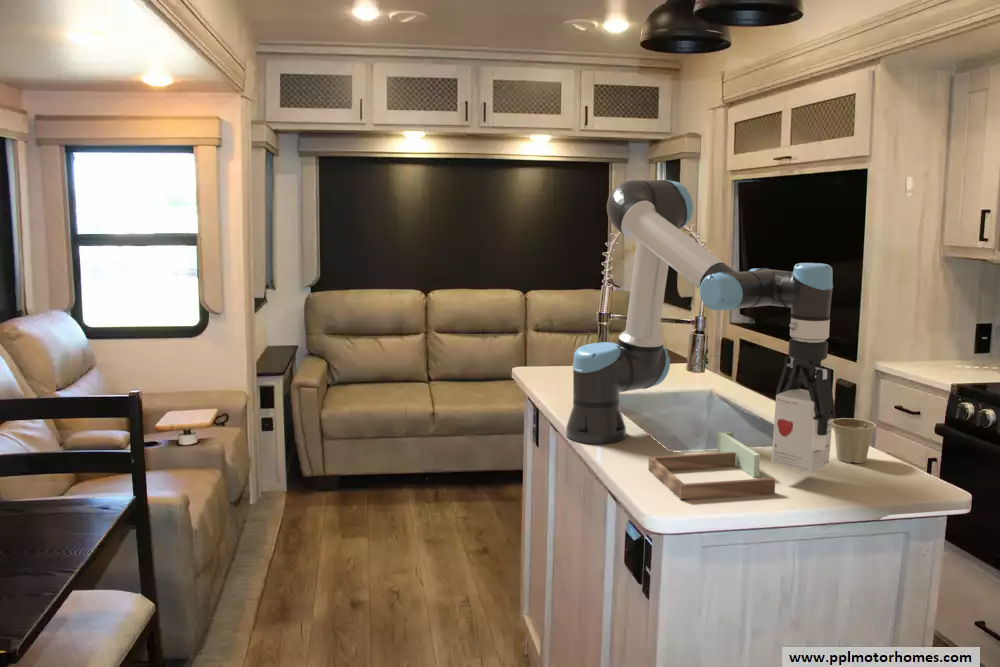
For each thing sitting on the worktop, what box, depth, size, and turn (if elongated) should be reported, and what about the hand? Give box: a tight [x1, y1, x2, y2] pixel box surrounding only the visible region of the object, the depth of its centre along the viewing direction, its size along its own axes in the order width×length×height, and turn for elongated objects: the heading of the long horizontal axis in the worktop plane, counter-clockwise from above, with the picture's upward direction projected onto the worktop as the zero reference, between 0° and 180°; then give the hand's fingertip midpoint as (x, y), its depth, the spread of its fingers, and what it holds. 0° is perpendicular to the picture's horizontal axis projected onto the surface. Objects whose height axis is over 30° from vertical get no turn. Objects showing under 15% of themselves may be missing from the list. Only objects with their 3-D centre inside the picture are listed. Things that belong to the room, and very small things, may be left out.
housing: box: [648, 452, 776, 500], centre depth 170 cm, size 19×20×3 cm
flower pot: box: [832, 417, 877, 464], centre depth 183 cm, size 9×9×9 cm
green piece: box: [716, 430, 761, 479], centre depth 181 cm, size 18×3×5 cm, turn 9°
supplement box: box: [771, 388, 836, 474], centre depth 168 cm, size 9×9×15 cm
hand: (801, 440), depth 169 cm, fingers closed on supplement box, 12 cm apart
